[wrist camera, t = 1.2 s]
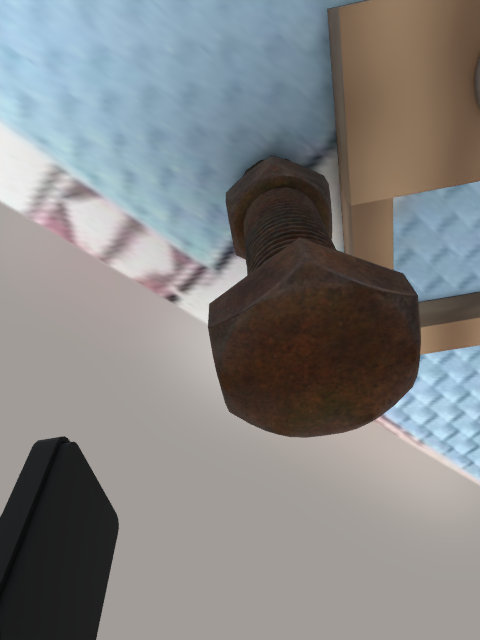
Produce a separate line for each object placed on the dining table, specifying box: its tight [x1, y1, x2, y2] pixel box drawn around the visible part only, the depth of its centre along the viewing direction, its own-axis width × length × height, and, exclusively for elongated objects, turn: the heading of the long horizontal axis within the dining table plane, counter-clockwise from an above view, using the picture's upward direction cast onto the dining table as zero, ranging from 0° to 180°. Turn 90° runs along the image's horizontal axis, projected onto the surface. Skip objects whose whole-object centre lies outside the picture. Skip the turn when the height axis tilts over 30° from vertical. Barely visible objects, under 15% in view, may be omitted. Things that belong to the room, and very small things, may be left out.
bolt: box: [208, 156, 421, 437], centre depth 18 cm, size 6×5×15 cm
